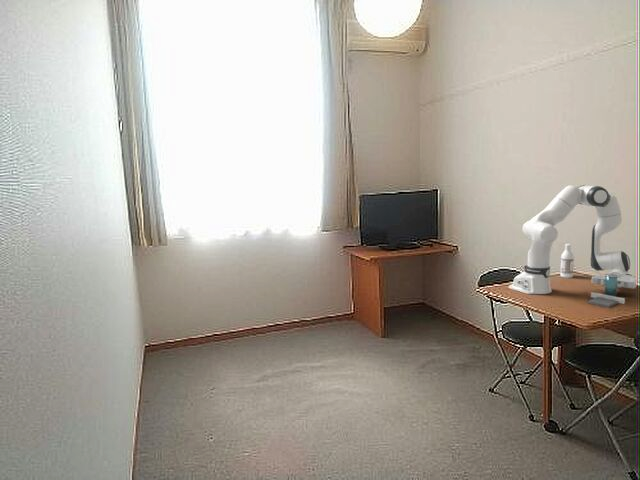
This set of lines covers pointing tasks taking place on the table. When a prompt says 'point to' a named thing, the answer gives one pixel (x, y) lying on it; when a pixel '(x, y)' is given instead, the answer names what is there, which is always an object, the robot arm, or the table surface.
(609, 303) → the coaster
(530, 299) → the table surface
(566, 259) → the bath foam
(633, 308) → the table surface
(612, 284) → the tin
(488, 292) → the table surface
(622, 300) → the wall
